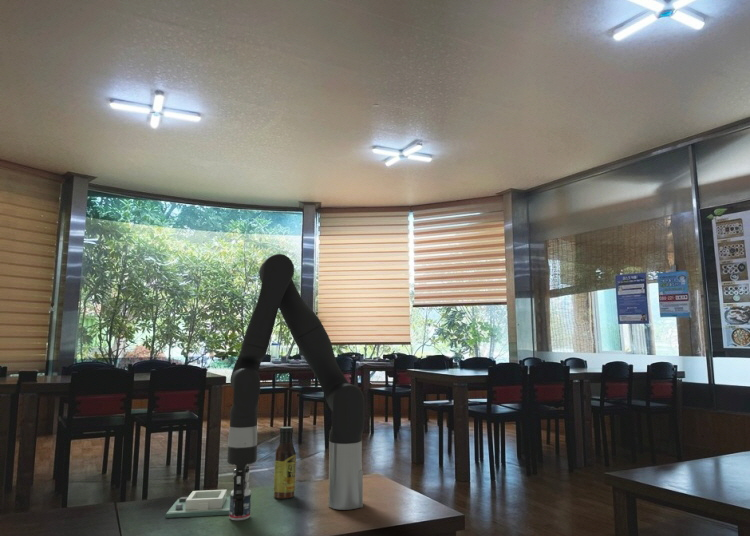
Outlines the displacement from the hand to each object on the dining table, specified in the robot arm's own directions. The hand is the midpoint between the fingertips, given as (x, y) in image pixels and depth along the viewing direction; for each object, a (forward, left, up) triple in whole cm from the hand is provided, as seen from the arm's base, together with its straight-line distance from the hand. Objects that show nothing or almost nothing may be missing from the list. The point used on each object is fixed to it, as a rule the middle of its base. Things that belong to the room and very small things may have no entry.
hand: (240, 511), depth 131 cm
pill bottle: (0, 0, -2) cm, 2 cm away
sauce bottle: (-11, -18, -2) cm, 21 cm away
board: (+10, -10, -1) cm, 14 cm away
